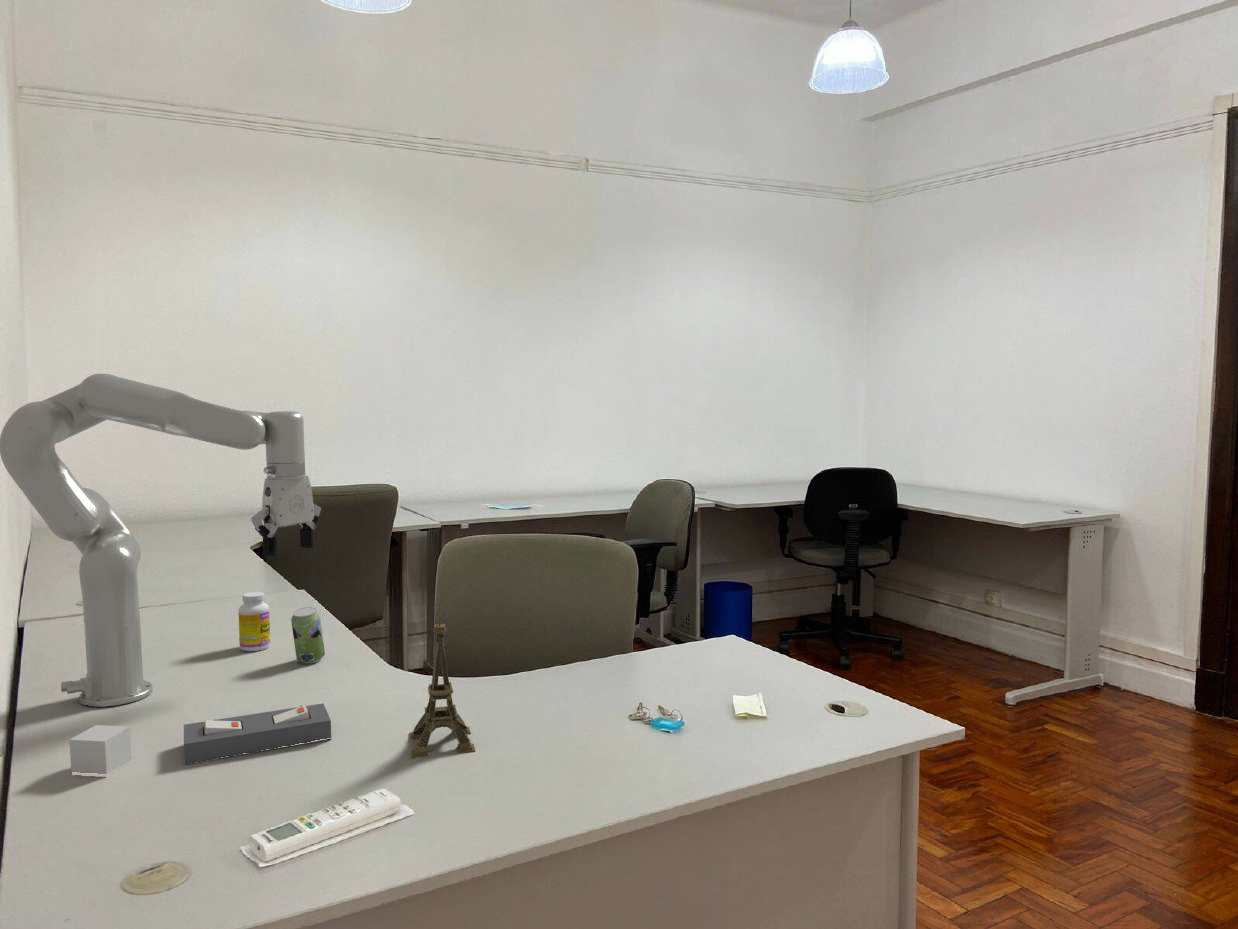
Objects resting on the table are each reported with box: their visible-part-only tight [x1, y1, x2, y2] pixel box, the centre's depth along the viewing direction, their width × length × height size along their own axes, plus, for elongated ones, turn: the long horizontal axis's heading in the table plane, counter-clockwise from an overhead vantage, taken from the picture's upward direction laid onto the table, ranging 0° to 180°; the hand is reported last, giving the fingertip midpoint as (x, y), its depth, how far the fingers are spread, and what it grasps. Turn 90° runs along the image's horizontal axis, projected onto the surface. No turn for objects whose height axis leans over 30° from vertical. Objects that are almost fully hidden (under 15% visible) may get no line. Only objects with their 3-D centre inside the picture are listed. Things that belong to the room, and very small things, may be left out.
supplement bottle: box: [238, 591, 271, 652], centre depth 205 cm, size 7×7×13 cm
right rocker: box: [273, 704, 310, 724], centre depth 155 cm, size 6×4×1 cm, turn 116°
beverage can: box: [290, 606, 326, 665], centre depth 196 cm, size 6×7×12 cm
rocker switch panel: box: [183, 703, 332, 765], centre depth 156 cm, size 23×16×4 cm
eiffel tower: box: [408, 602, 476, 759], centre depth 152 cm, size 11×11×25 cm
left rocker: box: [204, 719, 242, 735], centre depth 150 cm, size 6×4×1 cm, turn 117°
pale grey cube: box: [69, 724, 132, 774], centre depth 142 cm, size 6×6×6 cm
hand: (288, 551), depth 185 cm, fingers open, 9 cm apart
